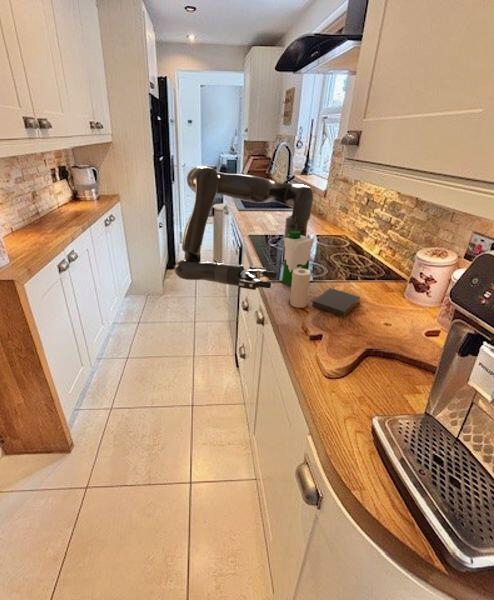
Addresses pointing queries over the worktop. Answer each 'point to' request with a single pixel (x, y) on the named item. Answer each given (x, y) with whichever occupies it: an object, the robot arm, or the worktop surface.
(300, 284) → the paper roll
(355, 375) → the worktop surface
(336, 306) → the slate board
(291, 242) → the soya milk
